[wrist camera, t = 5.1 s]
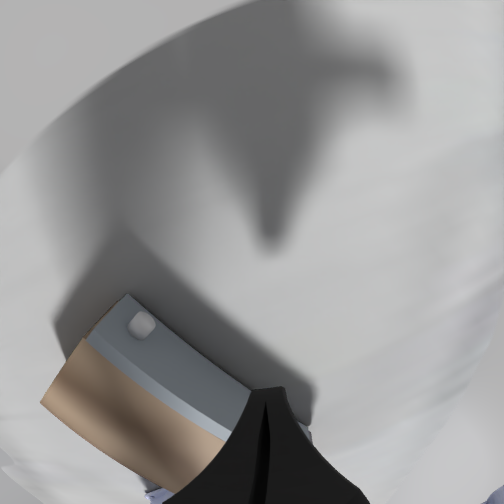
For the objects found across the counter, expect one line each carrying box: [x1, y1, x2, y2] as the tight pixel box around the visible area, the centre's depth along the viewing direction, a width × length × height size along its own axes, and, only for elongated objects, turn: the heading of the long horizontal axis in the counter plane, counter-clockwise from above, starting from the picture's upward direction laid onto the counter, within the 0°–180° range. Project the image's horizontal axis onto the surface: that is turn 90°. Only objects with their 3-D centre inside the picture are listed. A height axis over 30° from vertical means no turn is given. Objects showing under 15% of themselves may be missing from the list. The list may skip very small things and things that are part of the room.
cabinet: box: [40, 301, 225, 494], centre depth 18 cm, size 9×17×4 cm, turn 46°
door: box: [85, 293, 313, 444], centre depth 17 cm, size 2×17×4 cm, turn 46°
